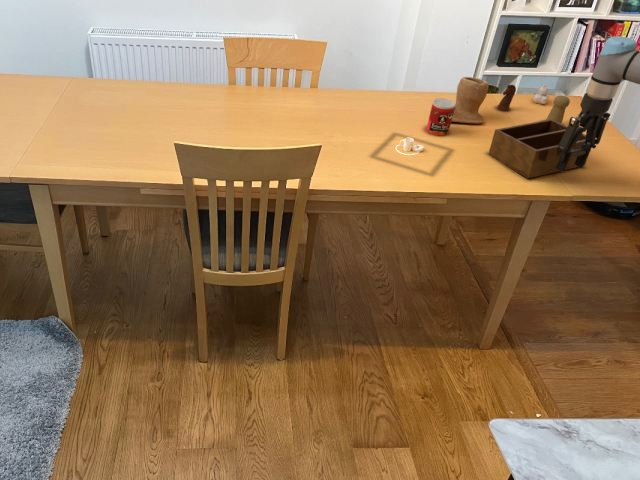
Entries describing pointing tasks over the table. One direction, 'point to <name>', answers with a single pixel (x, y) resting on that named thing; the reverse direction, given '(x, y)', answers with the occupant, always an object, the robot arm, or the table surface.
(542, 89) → the white lumpy figurine
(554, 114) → the cork
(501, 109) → the chess piece
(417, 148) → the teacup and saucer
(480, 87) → the tan brown vase
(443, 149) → the table surface
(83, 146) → the table surface
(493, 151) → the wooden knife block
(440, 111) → the canned food
